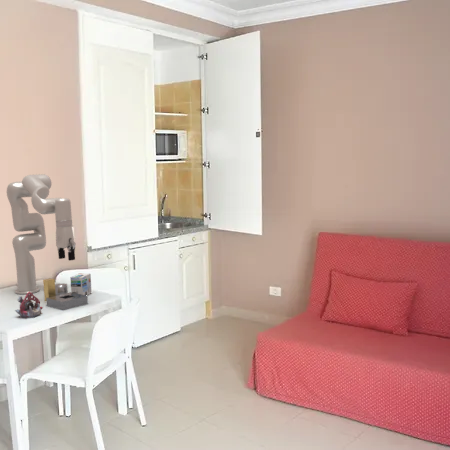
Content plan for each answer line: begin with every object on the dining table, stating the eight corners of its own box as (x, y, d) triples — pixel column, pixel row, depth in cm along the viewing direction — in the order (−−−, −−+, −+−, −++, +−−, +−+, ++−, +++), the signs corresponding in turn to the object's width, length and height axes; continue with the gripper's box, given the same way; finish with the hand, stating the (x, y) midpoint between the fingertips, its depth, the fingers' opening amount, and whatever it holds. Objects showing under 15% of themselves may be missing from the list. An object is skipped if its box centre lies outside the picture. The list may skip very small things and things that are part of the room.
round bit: (52, 296, 290) (51, 285, 289) (63, 294, 295) (62, 282, 294) (59, 298, 286) (58, 286, 285) (70, 295, 291) (69, 284, 290)
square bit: (44, 300, 281) (43, 279, 279) (51, 299, 284) (50, 278, 282) (49, 302, 278) (47, 280, 277) (56, 300, 281) (54, 279, 280)
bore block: (46, 305, 270) (46, 297, 270) (71, 299, 281) (70, 292, 280) (63, 310, 261) (62, 301, 261) (87, 303, 272) (87, 295, 271)
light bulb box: (83, 298, 284) (81, 277, 283) (71, 297, 286) (69, 277, 285) (92, 293, 295) (91, 273, 294) (80, 292, 296) (79, 273, 295)
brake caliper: (30, 315, 245) (18, 292, 248) (18, 327, 251) (6, 305, 253) (50, 308, 255) (38, 287, 258) (38, 320, 260) (26, 299, 263)
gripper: (48, 224, 271) (51, 259, 272) (65, 225, 258) (68, 261, 260) (62, 222, 276) (65, 256, 277) (80, 223, 263) (82, 259, 265)
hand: (66, 259), depth 269 cm, fingers open, 9 cm apart
